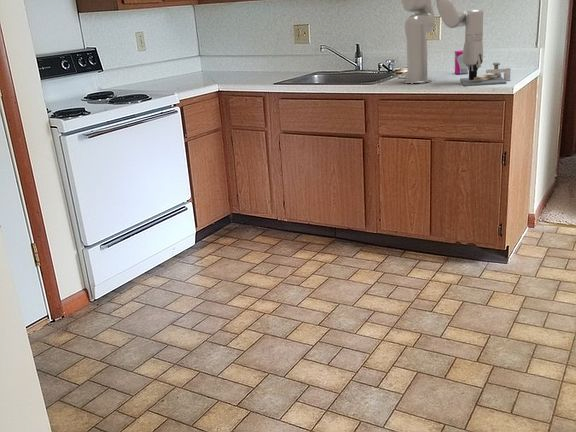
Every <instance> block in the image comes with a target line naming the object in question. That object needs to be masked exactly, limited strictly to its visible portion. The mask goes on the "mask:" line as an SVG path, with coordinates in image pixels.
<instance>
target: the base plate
mask: <svg viewBox="0 0 576 432" xmlns="http://www.w3.org/2000/svg"><path fill="white" fill-rule="evenodd" d="M459 80H460V84H462V86H463V87H472V86H473V87H474V86H489V85H491V86H493V85H507V81H505V80H504V77H502V76H501V77H496V78H492V79H488V80H484V81H480V82H475V81H474V80H469V77H462V78H459Z"/></svg>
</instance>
